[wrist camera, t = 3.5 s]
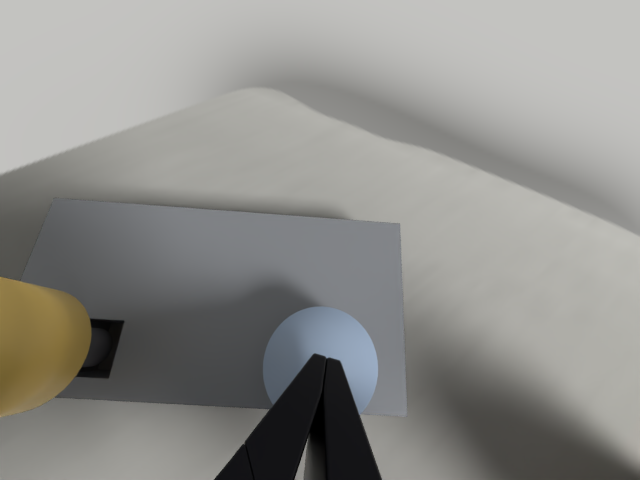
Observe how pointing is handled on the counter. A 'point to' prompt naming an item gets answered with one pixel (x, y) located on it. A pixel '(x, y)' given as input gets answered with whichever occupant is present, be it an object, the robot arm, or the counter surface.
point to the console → (215, 295)
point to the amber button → (43, 344)
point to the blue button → (321, 351)
